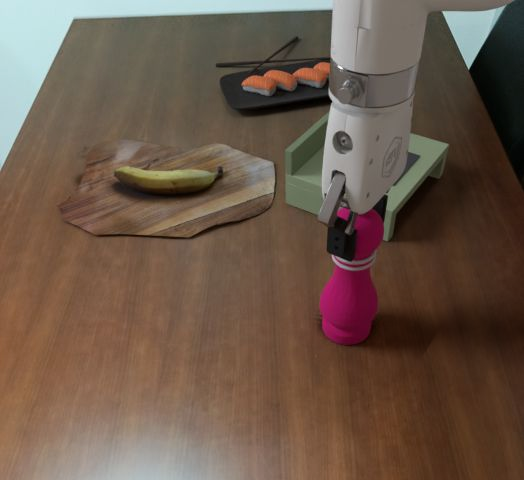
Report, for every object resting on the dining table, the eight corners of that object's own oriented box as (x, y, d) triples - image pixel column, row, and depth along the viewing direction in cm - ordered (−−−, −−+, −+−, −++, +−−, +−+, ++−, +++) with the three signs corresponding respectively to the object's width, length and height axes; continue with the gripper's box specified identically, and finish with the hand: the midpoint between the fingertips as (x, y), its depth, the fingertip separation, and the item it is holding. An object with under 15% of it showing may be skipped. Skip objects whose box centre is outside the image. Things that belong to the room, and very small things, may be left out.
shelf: (442, 174, 96) (454, 120, 89) (387, 242, 86) (396, 187, 79) (346, 143, 103) (350, 91, 96) (285, 203, 93) (284, 149, 86)
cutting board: (42, 235, 90) (34, 215, 87) (92, 139, 107) (86, 120, 104) (267, 243, 87) (266, 222, 84) (281, 143, 104) (281, 123, 101)
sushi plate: (231, 120, 110) (229, 100, 107) (204, 52, 128) (201, 34, 125) (377, 96, 113) (379, 76, 110) (329, 33, 132) (330, 15, 129)
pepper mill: (358, 356, 73) (375, 229, 57) (308, 334, 75) (311, 207, 60) (383, 320, 76) (406, 191, 61) (335, 299, 79) (345, 171, 64)
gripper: (364, 134, 45) (347, 298, 59) (453, 46, 53) (420, 208, 67) (282, 109, 47) (284, 271, 61) (379, 30, 56) (362, 188, 70)
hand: (355, 237), depth 64 cm, fingers closed on pepper mill, 6 cm apart
